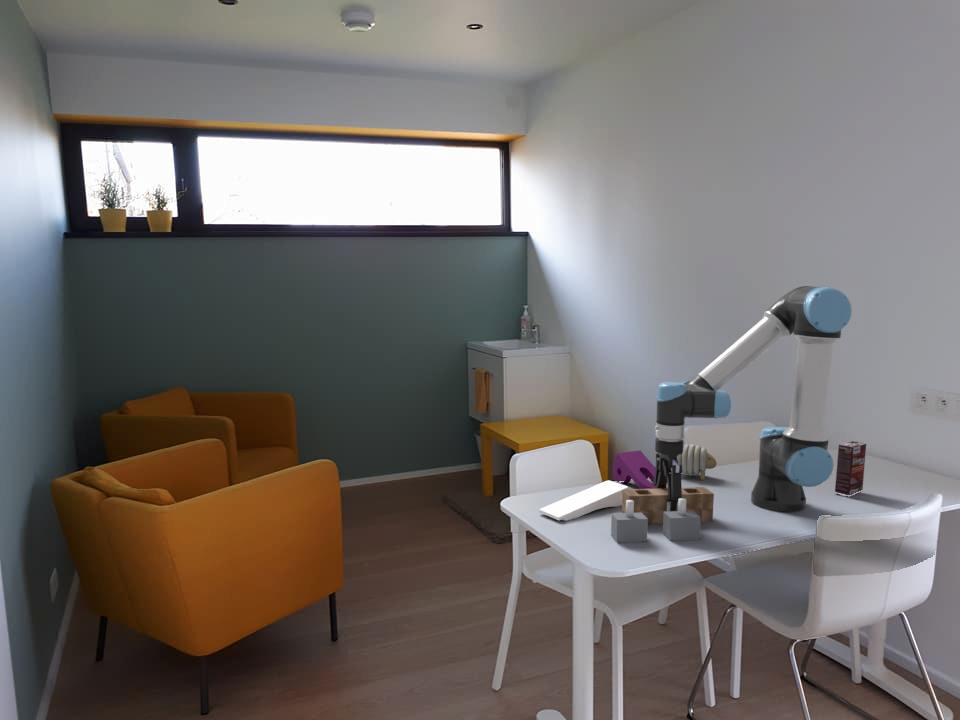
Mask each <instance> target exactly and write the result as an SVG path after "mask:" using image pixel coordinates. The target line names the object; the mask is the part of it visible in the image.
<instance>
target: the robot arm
mask: <svg viewBox="0 0 960 720" xmlns="http://www.w3.org/2000/svg"><path fill="white" fill-rule="evenodd" d="M852 312H853V309H852V304H851V302H850V299H849V298H848V297H847V296H846V294H845V293H843V292H842V291H841V290H839V289H837V288H834V287H830V286H813V285H812V286H810V285H802V286H798V287H795V288H792V289H791V290H790V291H788V292H786V293H785V294H784V295H783V296H781V297H780V298H779V299H778V300H777V301H775V303H773V304H772V305H771V306H770V307H768V308H767V309H766V310H765V311H764V312H763V318H761V319H760V320H758V322H757V323H756V324H755V325H753V326H752V327H751V328H749V330H747V331H746V332H745V333H744V334H743V335H742V336H741V337H740V338H738V339H737V340H736V341H735V342H734V343H733V344H732V345H730V346H729V347H728V348H727V349H726V350H724V351H723V352H722V353H721V354H720V355H718V357H716V359H714V360H713V361H712V362H710V363H709V364H708V365H707V366H706V367H705V368H704V369H703V370H702V371H700V372H699V373H698V374H696V375H695V376H694V377H693V378H692V379H691V380H686V381H683V382H678V381H675V382H674V381H664V382H661V383H660V384H659V385H658V387H657V394H656V422H655V423H656V426H655V427H654V430H655V437H656V438H655V442H654V444H655V445H654V450H655V452H656V453H655V465H654V467H655V477H654V483H653V485H654V486H656V489H658V488H668V497H669V499H668V500H666V501H667V512H669V511H677V508H678V499H679V498H682V488H683V487H682V474H683V473H682V465H678V461H677V456H678V455H680V454H682V453H683V447H684V444H685V443H684V440H683V439H684V438H685V424H686V423H685V419H686V418H691V419H692V418H693V419H694V418H697V419H698V418H701V419H702V418H703V419H704V418H705V419H720V418H727V417H728V416H729V415H730V413H731V410H732V401H731V400H732V399H731V397H730V393H729V392H728V391H726V390H722V389H723V388H725V386H726V385H728V384H729V383H730V382H731V381H732V380H733V379H735V378H736V377H737V376H738V375H740V373H742V372H743V371H745V369H746V368H747V367H749V366H750V365H751V364H753V363H754V362H755V361H756V360H757V359H758V358H759V357H761V356H762V355H763V354H764V353H765V352H767V351H768V350H769V349H770V348H771V347H773V345H775V344H776V343H777V342H778V341H779V340H780V339H782V338H783V337H784V338H785V337H786V338H787V337H788V338H789V337H790V336H791V335H793V337H794V338H795V339H796V341H797V342H798V345H797V352H796V362H795V372H794V381H793V382H794V383H793V389H792V391H793V392H792V398H791V399H792V400H791V408H790V409H791V410H790V419H789V426H788V427H787V426H786V427H785V426H771V427H770V426H769V427H764V428H762V430H761V431H760V438H759V458H758V459H759V460H758V475H757V476H758V477H757V478H756V481H755V483H754V486H753V489H752V491H751V496H750V501H751V502H752V504H754V505H755V506H757V507H760V508H763V509H766V510H767V509H768V510H771V511H777V512H798V511H802V510H804V509H806V508H807V507H806V506H807V498H806V495H805V491H804V487H806V488H813V487H817V486H819V485H822V484H823V483H824V482H826V481H827V480H828V479H829V478H830V476H831V475H832V473H833V470H834V460H833V457H832V455H831V453H830V452H829V451H828V448H829V447H828V446H829V437H828V435H827V434H826V433H825V432H824V428H825V419H826V411H827V410H826V409H827V401H828V400H827V399H828V393H829V392H828V391H829V387H830V386H829V384H830V376H831V375H830V374H831V368H832V367H831V366H832V359H833V349H834V345H835V344H836V343H837V342H838V341H840V340H841V335H842V330H843V329H844V328H845V327H846V326H847V325H848V324H849V322H850V320H851V318H852V314H853V313H852ZM681 473H682V474H681Z"/></svg>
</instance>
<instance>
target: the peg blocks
mask: <svg viewBox="0 0 960 720" xmlns="http://www.w3.org/2000/svg"><path fill="white" fill-rule="evenodd" d="M700 519H701V517H700V516H699V515H697V514H696V513H695V512H694V511H686V499H684V498H679V499H678V511H669V512H664V514H663V523H662V535H664V536H665V537H666V538H667V539H668V540H669V541H670V540H674V541H693V540H695V541H697V540H700V539H701V538H700V537H701V522H700ZM610 525H611V527H610V536H611V537H612V539H613V540H614V541H615V543H616V542H618V543H619V542H621V543H640V542H641V543H642V541H644V542H645V541H647V542H648V528H649V527H648V525H649V524H648V519H647V518H646V517H645V516H644V515H643V514H642V513H641V512H639V513H634V501H633V500H626V513H622V512H613V513H611V524H610ZM644 542H643V543H644Z"/></svg>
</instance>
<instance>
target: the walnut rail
mask: <svg viewBox="0 0 960 720" xmlns="http://www.w3.org/2000/svg"><path fill="white" fill-rule="evenodd" d="M714 496H715V494H714V492H712V491H711V490H710V489H708V488H707V487H706V486H701V487H699V486H697V487H695V486H693V487H682V498H684V499H686V511H694V512H695V513H696V514H697V515H699V516H700V517H701V519H700V523H708V522H709V523H710V522H714V521H713V520H714V500H715V499H714V498H715V497H714ZM668 499H669V497H668V487H667V488H658V489H640V488H631V489H630V488H629V489H624V490H622V506H621V513H626V500H633V501H634V513H639V512H641V513H642V514H643V515H644V516H645V517H646V518H647V519H648V525H653V524H655V523H659V524H663V514H664V512H667V501H666V500H668ZM677 511H678V508H677Z"/></svg>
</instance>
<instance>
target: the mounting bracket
mask: <svg viewBox="0 0 960 720" xmlns="http://www.w3.org/2000/svg"><path fill="white" fill-rule="evenodd" d="M611 469H612V476H613V478H614V480H615V482H616V483H619V481H624V482H621V483H622V484H628V483H629V482H631V481H633V482H634V484H635V485H636V486H637V488H638V489H656V486H654V477H655V465H653V463H652V462H651V461H650V460H649V458H648V457H647V456H646V455H645V454H644V453H643V451H642V450H633V451H625V452H624V451H623V452H616V455H615V457H614V460H613V463H612V467H611ZM648 479H649V480H650V481H649V480H648ZM651 482H652V483H651ZM621 483H620V484H621Z"/></svg>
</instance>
